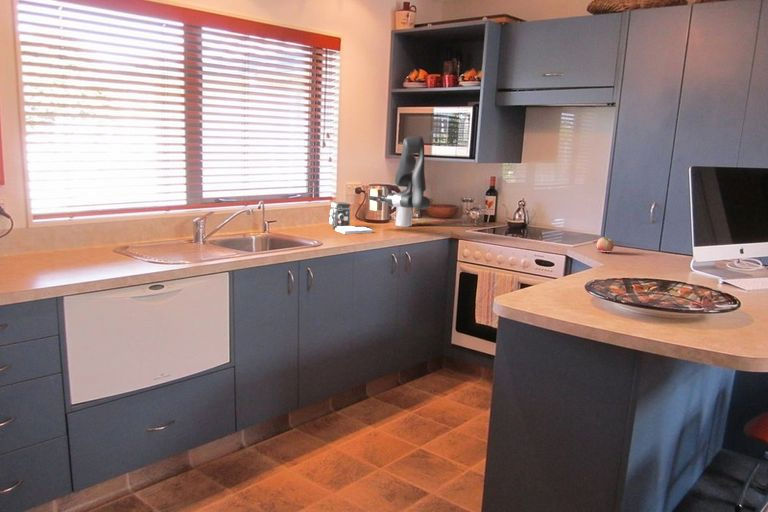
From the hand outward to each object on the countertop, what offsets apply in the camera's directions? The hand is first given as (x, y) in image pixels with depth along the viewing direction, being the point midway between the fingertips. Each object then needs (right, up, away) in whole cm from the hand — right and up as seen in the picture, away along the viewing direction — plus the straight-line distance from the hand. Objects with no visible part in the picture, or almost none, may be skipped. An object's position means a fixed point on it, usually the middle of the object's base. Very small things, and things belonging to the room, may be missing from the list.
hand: (372, 197), depth 353 cm
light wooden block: (+2, -7, 0) cm, 7 cm away
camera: (-20, -18, +3) cm, 27 cm away
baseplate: (-10, -20, -6) cm, 23 cm away
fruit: (+120, -32, -38) cm, 130 cm away
